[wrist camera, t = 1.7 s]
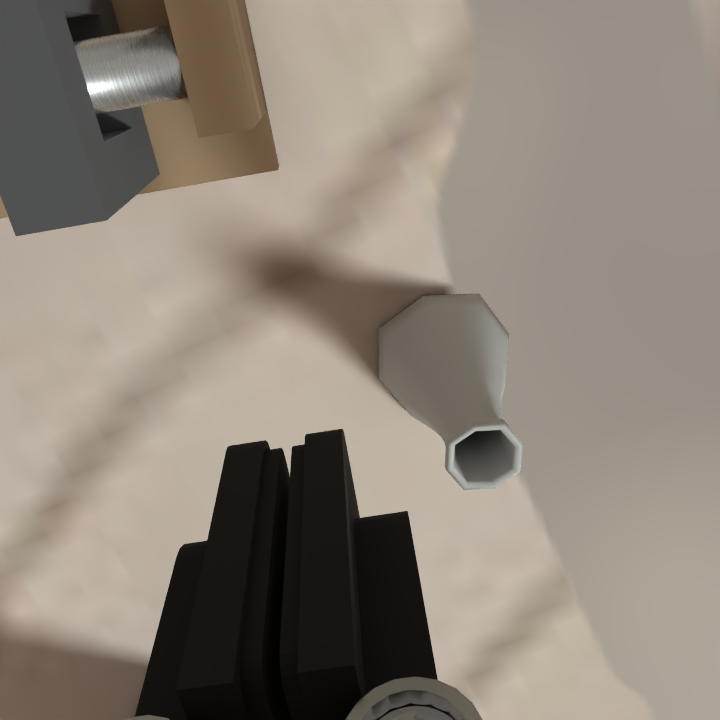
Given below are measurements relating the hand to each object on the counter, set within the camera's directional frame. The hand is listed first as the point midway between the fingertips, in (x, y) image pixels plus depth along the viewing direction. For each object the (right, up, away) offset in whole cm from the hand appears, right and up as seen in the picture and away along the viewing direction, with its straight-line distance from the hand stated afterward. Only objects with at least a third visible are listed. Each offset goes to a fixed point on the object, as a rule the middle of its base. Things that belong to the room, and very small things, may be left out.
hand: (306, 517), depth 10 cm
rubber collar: (-10, +14, +18) cm, 25 cm away
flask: (+5, +3, +26) cm, 27 cm away
